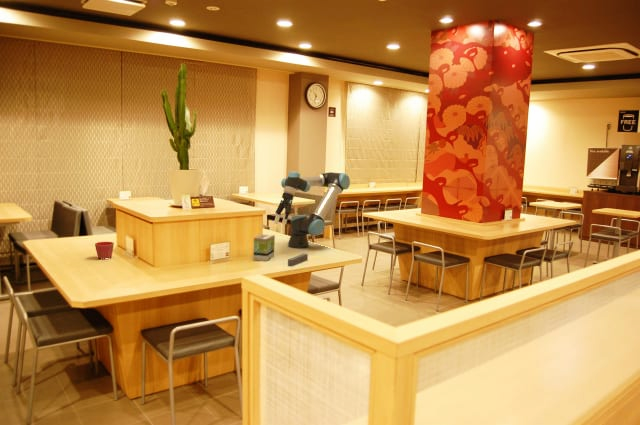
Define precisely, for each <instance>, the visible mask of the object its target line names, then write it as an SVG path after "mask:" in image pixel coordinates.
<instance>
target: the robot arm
mask: <svg viewBox="0 0 640 425" xmlns="http://www.w3.org/2000/svg"><path fill="white" fill-rule="evenodd" d="M280 185H281V187H282V188H283V193H282V195H281V198H282V199H283V200H282V199H281V200H280V202H279V205H278V206H277V208H276V210H275V211H274V212H275V214H276V215H275V217H274V221H273V224H276V225H279V221H280V218H281V215H282V212H283V211H285V212H284V214H283V219H282V222H281V224H283V225H287V223H288V218H289V216H290V215H291V214H292V205H293V200H294V197H295V196H294V195H295V194H296V191H301V192H303V193H308V192H309V191H310V190H311V187H319V188H321V187H323V188H327V190H326V192H325V194H324V196H323V197H322V198H321V200H320V202H319V203H318V205H317V207H316V209H315V211H314V212H312V213H310V214H309V216H307V214H297V215H292V216H291V217H290V237H289V240H288V243H287V247H289V248H292V249H296V248H297V249H305V248H308V247H309V246H310V243H309V240H308V236H307V235H309V236H310V235H311V236H319V235H321V234H322V233H323V232H324V230H325V226H326V225H325V222H326V221H325V218H326V216H327V215H328V213H329V211H330V209H331V208H332V206H333V204H334V203H335V201H336V199H337V198H338V196H339V195H341V194H342V193H343V192H344V190H348V189H349V188H350V186H351V180H350V177H349V175H348V174H347V173H343V172H341V173H339V172H331V171H330V172H324V173H323V172H322V173H318V174H316V175H311V176H301V173H300V172H299V171H294V170H290V171H289V173H288V175H287V177H284V178H283V179H281V184H280Z"/></svg>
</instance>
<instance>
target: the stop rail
mask: <svg viewBox="0 0 640 425" xmlns="http://www.w3.org/2000/svg"><path fill="white" fill-rule="evenodd" d="M308 256H309V255H308V253H301V254H298V255H296V256H294V257H291V258H288V259H287V266H288V267H294V266H297V265H299V264H301V263H304V262H307V261H308V258H309V257H308Z"/></svg>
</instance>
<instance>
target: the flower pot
mask: <svg viewBox="0 0 640 425" xmlns="http://www.w3.org/2000/svg"><path fill="white" fill-rule="evenodd" d="M94 246H95V251H96V255H97V258H110V257H111V258H112V256H113V251H114V242H113V241H100V242H99V241H98V242H96V243H94ZM111 258H110V259H111Z"/></svg>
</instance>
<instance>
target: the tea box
mask: <svg viewBox="0 0 640 425" xmlns="http://www.w3.org/2000/svg"><path fill="white" fill-rule="evenodd" d="M275 238H276V236H275V235H273V234H259V235H257V236H255V237H253V255H252V256H253V258H252V259H253V261H259V262H260V261H261V262H262V261H263V262H268V261H269V260H271V259H272V258H274V257H275V245H276V244H275V242H276V241H275V240H276V239H275Z"/></svg>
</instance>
